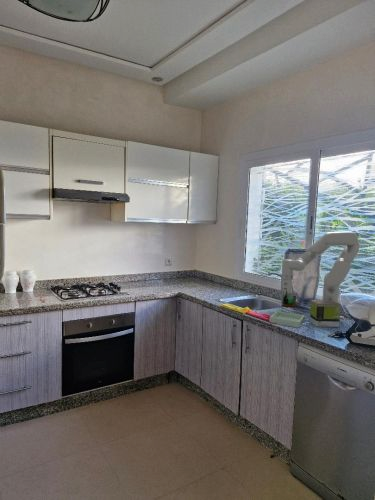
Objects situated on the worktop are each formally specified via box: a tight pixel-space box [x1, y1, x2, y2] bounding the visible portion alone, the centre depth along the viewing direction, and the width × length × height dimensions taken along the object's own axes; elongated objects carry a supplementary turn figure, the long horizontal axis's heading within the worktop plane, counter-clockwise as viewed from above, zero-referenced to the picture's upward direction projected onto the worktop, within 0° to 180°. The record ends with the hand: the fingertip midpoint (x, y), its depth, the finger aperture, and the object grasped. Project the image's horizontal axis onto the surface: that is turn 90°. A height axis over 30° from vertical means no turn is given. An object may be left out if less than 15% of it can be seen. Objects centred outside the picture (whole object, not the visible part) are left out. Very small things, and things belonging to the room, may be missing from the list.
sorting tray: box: [268, 310, 306, 329], centre depth 222 cm, size 18×18×4 cm
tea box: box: [309, 299, 341, 328], centre depth 219 cm, size 15×10×15 cm, turn 92°
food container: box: [279, 290, 298, 309], centre depth 239 cm, size 12×6×10 cm, turn 45°
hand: (286, 303), depth 240 cm, fingers closed on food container, 5 cm apart
